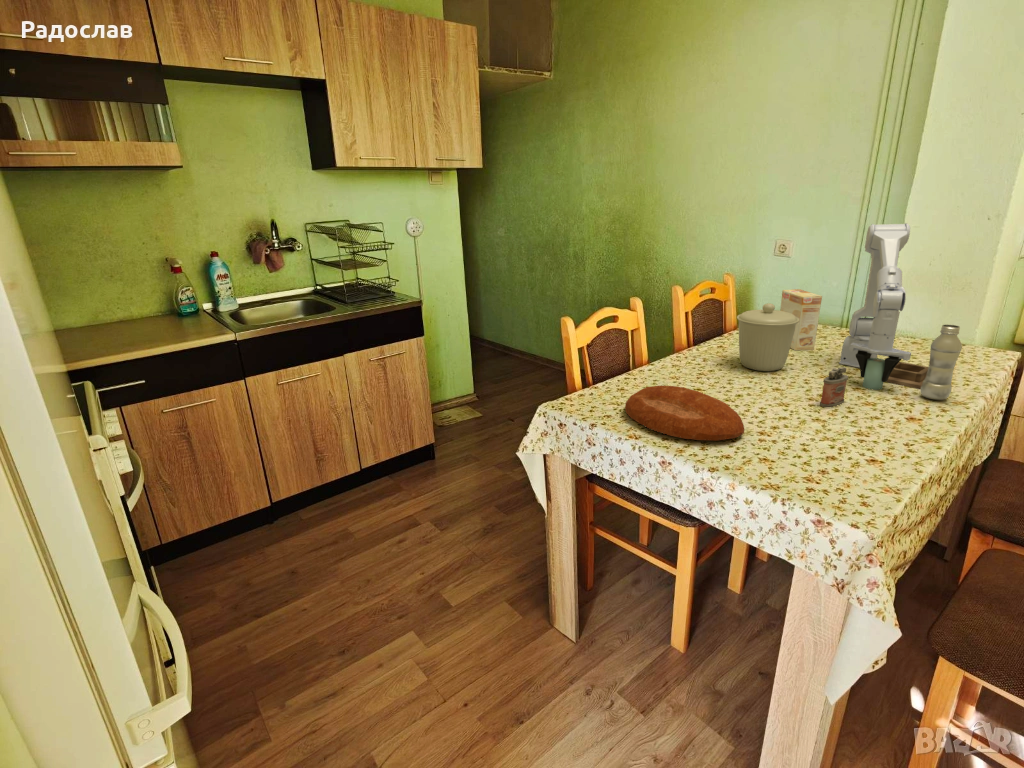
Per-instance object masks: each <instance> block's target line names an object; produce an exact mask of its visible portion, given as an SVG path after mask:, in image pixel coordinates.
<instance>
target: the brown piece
mask: <svg viewBox="0 0 1024 768" xmlns="http://www.w3.org/2000/svg"><path fill="white" fill-rule="evenodd" d="M928 367H929V366H925V365H921V364H920V365H919V364H914V363H910V362H903V361H900V362H899V363H898V364H897V365H896V366H895V368H894V369H893V370H892V372H891V374H890V376H889V378H888V380H887V381H886V382H885V383H889V384H894V385H899V386H903V385H904V387H908V386H909V387H908V388H913V389H917V388H918V390H921V385H922V383H923V381H924V379H925V376H926V373H927V370H928Z"/></svg>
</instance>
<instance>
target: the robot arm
mask: <svg viewBox="0 0 1024 768" xmlns="http://www.w3.org/2000/svg"><path fill="white" fill-rule="evenodd" d="M910 234H911V226H910V224H909V223H908V222H907V223H906V222H905V223H891V224H889V223H888V224H887V223H886V224H885V223H884V224H883V223H882V224H877V223H876V224H875V223H871V224H870V225H869V226H868V228H867V231H866V237H865V243H864V249H865V250H864V252H866V253H868V254H870V258H871V261H870V267H869V274H868V281H867V286H866V291H865V292H866V293H865V298H864V303H863V304H864V305H863V307H861V308H858V309H857V310H855V311H854V312H853V314H852V315H851V319H850V323H849V328H848V330H849V331H848V333H849V335H847V336H846V337H845V338H844V341H843V342H842V347H841V352H840V353H841V354H840V359H839V362H838V364H839V365H844V366H849V367H854V368H859V370H860V378H861V379H864V375H865V369H866V364H867V359H869V358H878V356H882V357H886V358H885V359H884V360H885V367H884V373H883V377H882V382H883V383H887V382H886V381H887V380H888V378H889V376H890V374H891V372H892V370H893V369H894V368H895V366H896V365H897V364H898V363H899V362H901V361H909V360H910V359H911V356H912V352H911V351H910V352H909V351H905V350H902V349H898V348H893V347H894V341H895V338H896V332H897V328H898V323H899V319H900V313H901V312H902V311H903V310H904V308H905V305H906V300H907V298H906V297H907V295H906V293H907V291H906V290H905V287H904V286H903V271H902V269H901V268H900V267H898V261H899V255H900V254H899V253H900V252H901V251H902V249H903V248H904V247H905V246H906V244H908V242H909V239H910Z"/></svg>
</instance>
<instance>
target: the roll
mask: <svg viewBox="0 0 1024 768" xmlns="http://www.w3.org/2000/svg"><path fill="white" fill-rule="evenodd" d="M884 367H885V359H884V358H879V357H877V358H869V359H867V364H866V369H865V375H864V378H863V382H862V387H863V388H864V387H865V388H864V389H867V388H868V390H872V389H873V390H875V391H879V390H882V389H883V387H884V382H882V377H883V373H884ZM873 390H872V391H873Z"/></svg>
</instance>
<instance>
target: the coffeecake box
mask: <svg viewBox="0 0 1024 768" xmlns="http://www.w3.org/2000/svg"><path fill="white" fill-rule="evenodd" d="M781 292H782V293H781V300H780V301H781V302H780V307H779V308H780V309H779V311H784V312H788V313H791V314H793V315H794V316H795V317H797V318H799V322H798V323H796V327H795V331H794V335H793V339H792V343H791V346H790V349H792V350H794V351H814V350H815V344H816V338H817V332H818V325H819V321H820V320H819V318H820V313H821V305H822V301H823V299H822V298H823V295H820V294H818V293H817V294H816V293H813V292H810V291H807V290H803V289H799V288H797V289H795V288H794V289H782V291H781Z"/></svg>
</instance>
